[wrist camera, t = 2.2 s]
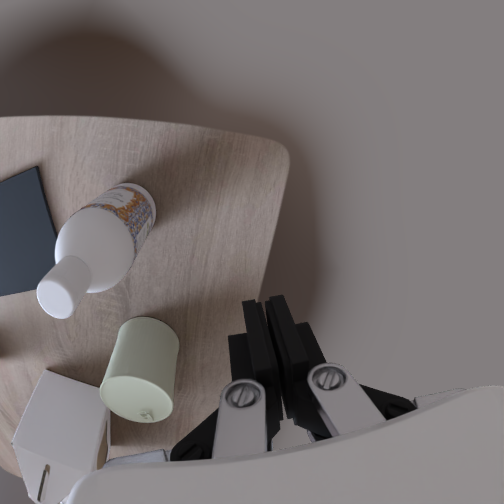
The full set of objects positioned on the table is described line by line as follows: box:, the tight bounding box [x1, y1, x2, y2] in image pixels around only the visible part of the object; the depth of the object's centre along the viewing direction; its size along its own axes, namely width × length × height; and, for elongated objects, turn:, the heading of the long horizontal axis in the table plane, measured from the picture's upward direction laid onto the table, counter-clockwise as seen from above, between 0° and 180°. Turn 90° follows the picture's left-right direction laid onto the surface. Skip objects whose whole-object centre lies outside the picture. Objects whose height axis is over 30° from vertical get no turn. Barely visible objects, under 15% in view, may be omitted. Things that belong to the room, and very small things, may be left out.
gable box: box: [11, 370, 111, 504], centre depth 34 cm, size 22×13×28 cm, turn 161°
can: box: [100, 317, 179, 423], centre depth 36 cm, size 9×9×12 cm
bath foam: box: [37, 183, 156, 319], centre depth 25 cm, size 7×7×20 cm
